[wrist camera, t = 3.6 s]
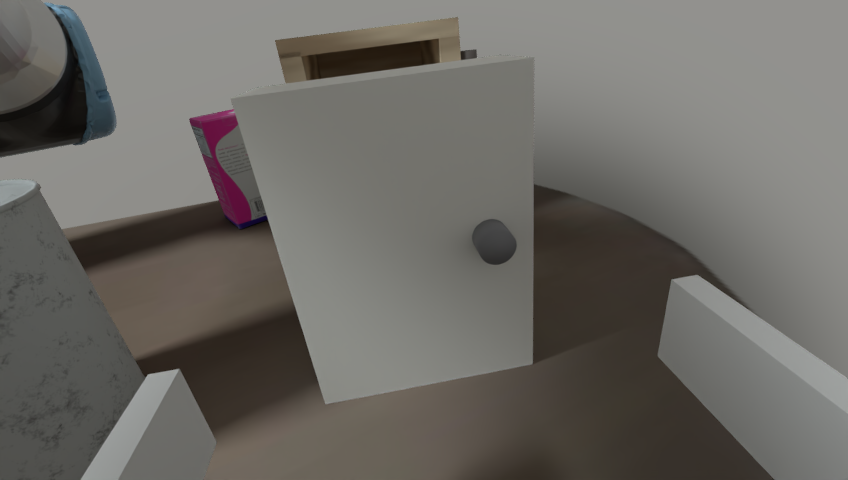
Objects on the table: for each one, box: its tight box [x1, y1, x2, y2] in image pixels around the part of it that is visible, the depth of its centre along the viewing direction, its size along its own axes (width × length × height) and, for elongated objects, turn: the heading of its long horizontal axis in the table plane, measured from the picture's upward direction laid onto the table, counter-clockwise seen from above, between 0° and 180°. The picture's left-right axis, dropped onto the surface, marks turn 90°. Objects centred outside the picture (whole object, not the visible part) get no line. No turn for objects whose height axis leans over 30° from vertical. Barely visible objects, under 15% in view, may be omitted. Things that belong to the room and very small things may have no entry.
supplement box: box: [189, 109, 268, 229], centre depth 45 cm, size 6×6×12 cm
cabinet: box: [275, 17, 477, 84], centre depth 34 cm, size 21×14×17 cm
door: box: [231, 55, 534, 404], centre depth 19 cm, size 5×11×15 cm, turn 98°
